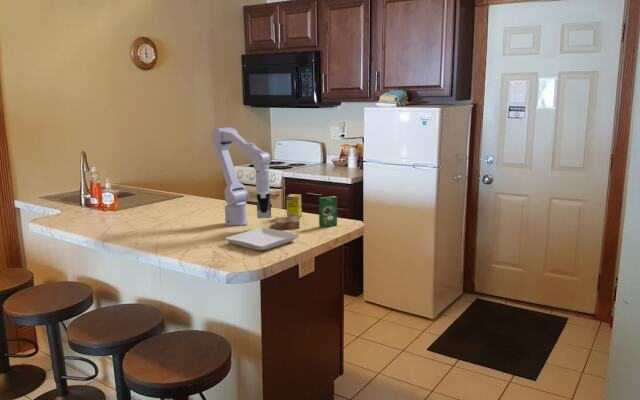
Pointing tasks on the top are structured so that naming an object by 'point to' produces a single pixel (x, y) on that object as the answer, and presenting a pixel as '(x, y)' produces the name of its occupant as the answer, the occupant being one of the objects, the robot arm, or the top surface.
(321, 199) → the coffee box
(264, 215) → the block
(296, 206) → the supplement box
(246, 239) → the salad plate
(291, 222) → the stand
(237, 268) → the top surface
